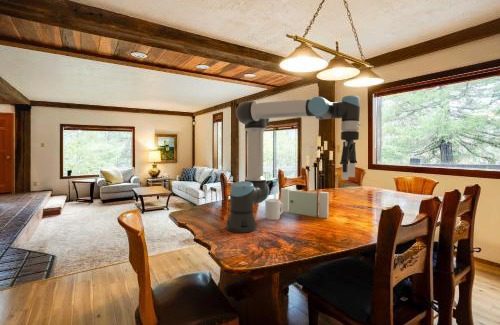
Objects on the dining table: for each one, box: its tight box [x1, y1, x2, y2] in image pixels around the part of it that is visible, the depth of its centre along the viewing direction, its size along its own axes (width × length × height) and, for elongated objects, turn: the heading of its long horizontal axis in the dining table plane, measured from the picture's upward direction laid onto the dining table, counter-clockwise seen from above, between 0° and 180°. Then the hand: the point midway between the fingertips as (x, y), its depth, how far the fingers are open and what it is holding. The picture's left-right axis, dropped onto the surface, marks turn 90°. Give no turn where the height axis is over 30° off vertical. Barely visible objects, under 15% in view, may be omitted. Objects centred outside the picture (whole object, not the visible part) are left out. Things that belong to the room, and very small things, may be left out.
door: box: [288, 189, 320, 218], centre depth 163 cm, size 19×3×16 cm, turn 58°
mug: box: [264, 198, 284, 221], centre depth 156 cm, size 9×12×11 cm
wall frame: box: [280, 187, 330, 219], centre depth 166 cm, size 30×3×15 cm, turn 58°
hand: (348, 178), depth 121 cm, fingers open, 13 cm apart
